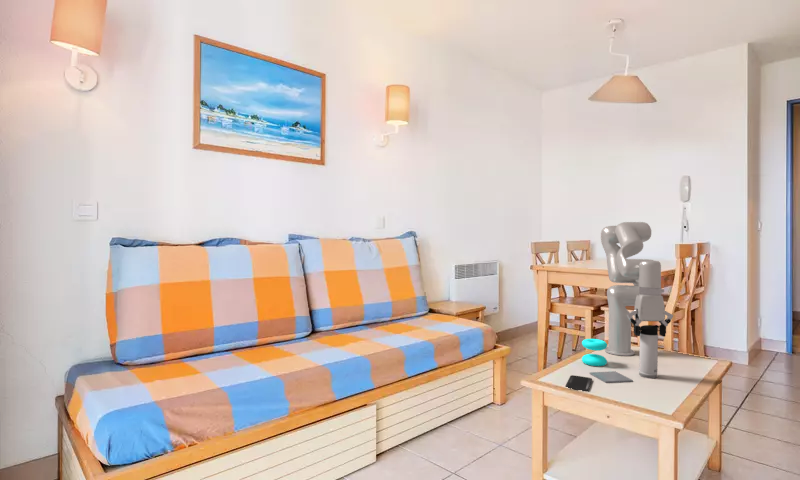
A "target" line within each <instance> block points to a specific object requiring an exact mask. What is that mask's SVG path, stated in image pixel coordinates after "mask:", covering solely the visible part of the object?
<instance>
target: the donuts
mask: <svg viewBox="0 0 800 480" xmlns="http://www.w3.org/2000/svg"><path fill="white" fill-rule="evenodd" d="M581 345H582V347H583V348H584V349H587V350H590V351H598V352H599V351H605V349H606V348H607V347H608V342H606V341H605V340H603V339H598V338H585V339H583V340H582V341H581ZM581 361H582V363H583V364H585V365H586V366H591V367H592V366H593V367H604V366H606V365H607V364H608V360H607V358H606V357H604V356H603V355H600V354H597V353H587V354H584V355H582V356H581Z"/></svg>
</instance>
